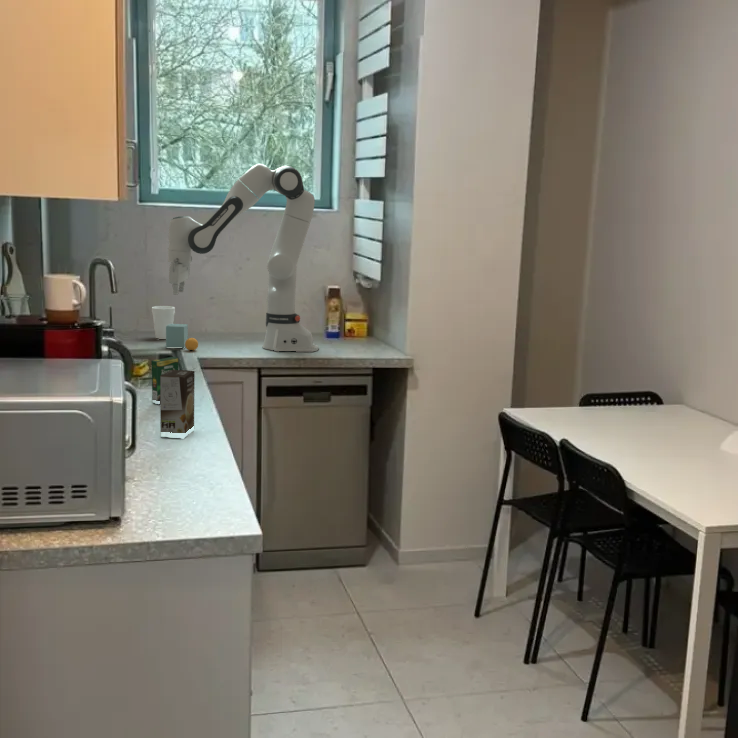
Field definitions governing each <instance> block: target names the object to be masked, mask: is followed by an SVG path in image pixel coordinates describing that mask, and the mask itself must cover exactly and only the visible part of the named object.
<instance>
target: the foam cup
mask: <svg viewBox="0 0 738 738" xmlns="http://www.w3.org/2000/svg"><path fill="white" fill-rule="evenodd" d="M151 314H152V321H153V327H154V334H155V339H156V338H159V339H166V326H167V325H169V324H174V322H175V321H174V320H175V315H176V307H175V306H169V305H155V306H152V307H151ZM159 339H158V340H159Z"/></svg>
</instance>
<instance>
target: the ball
mask: <svg viewBox="0 0 738 738" xmlns="http://www.w3.org/2000/svg"><path fill="white" fill-rule="evenodd" d="M185 346H186V348H185V349H187V350H188V351H190V350H193V351H195V350H196V349H198V347H199V342H198V340H197V339H196V338H194V337H190V338H189V337H188V339H187V340H186V342H185Z"/></svg>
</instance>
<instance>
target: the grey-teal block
mask: <svg viewBox="0 0 738 738" xmlns="http://www.w3.org/2000/svg"><path fill="white" fill-rule="evenodd" d="M188 327H189V324H188V323H187V324H186V323H184V324H182V323H173V324H169V325H167V326H166V340H165V348H166V347H182V348H184V347H186V346H185V342H186V340H187V339H189V337H188V335H189V333H188V332H189V330H188V329H189V328H188Z"/></svg>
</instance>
